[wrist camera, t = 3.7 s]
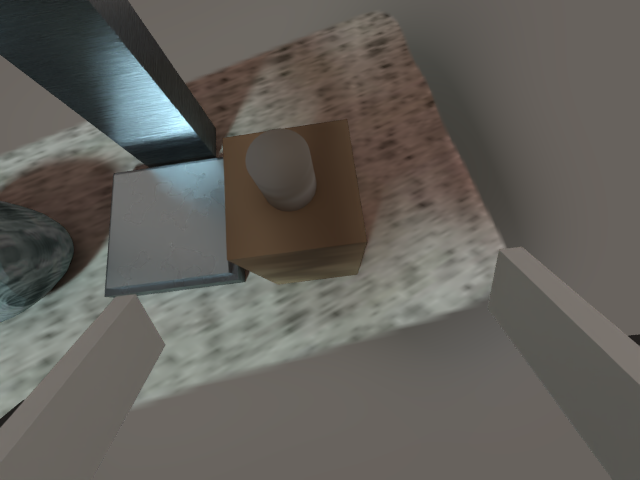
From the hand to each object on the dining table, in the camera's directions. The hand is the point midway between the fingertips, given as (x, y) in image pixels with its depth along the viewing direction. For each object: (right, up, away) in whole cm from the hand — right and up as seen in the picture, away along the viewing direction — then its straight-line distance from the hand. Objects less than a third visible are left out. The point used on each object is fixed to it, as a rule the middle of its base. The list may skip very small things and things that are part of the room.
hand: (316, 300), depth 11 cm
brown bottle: (0, +2, +12) cm, 12 cm away
